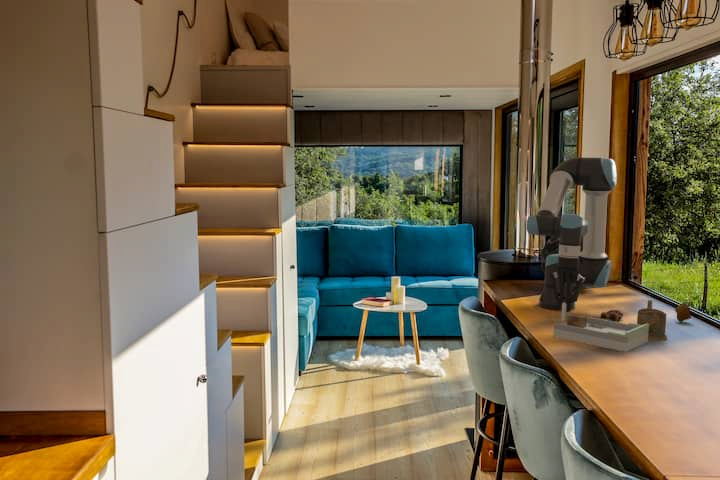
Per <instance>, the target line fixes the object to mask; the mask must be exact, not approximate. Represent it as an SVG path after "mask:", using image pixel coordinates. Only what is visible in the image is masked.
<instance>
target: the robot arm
mask: <svg viewBox="0 0 720 480" xmlns="http://www.w3.org/2000/svg"><path fill="white" fill-rule="evenodd" d="M617 177H618V173H617V165H616V162H615V161H614V159H612V158H607V157H580V156H575V157H571V158H568V159H566V160H564V161H563V162H561V163H560V164H558V165H557V167H555V168H554V169H553V170H552V172H551V174H550V177H549V186H548V187H547V190H546V192H545V194H544V197H543V199H542V202H541V203H540V206H539V209H538V210H537V213H536V214H532V215H531V214H530V215H529V216H528V217H527V219H526V231H527V233H528V234H529V235H534V236H542V237H543V236H544V237H552V236H556V237H560V240H559V254H552V255H549V256H547V258H546V264H545V274H544V282H543V289H542V291H541V294H540V296H539V299H538V306H539V307H541V308H544V309H549V310H557V311H559V312H561V314H560V315H561V316H560V321H561V322H562V321H563V322H567V321H568V315H570V313H571V311H572V310H574V309H575V308H576V302H578V299H579V296H580V292H581V290H582V289H581V287H582V286H587V287H591V288H604V287H606V285H607V284H608V281H609V278H610V274H611V269H612V261H611V260H609V259H608V257H609V256H608V254H607V253H606V252H605V244H606V243H605V241H606V226H607V211H608V210H607V209H608V196H609V194H610V193H612V191H613V188H615V187H616V186H617V181H618V179H617ZM573 186H582V188H581V189H582V192H583V193H585V203H584V204H585V206H584V218H583V215H582V214H578V213H563V214H561V216H558V215H559V213H560V210H561V208H562V206H563V203H564V201H565V198H566V196H567V194H568V191H569V190H570V189H571V188H572V187H573ZM583 236H584V237H583ZM582 237H583V251H582V252H581V253H580V245H581V238H582ZM578 257H579V258H578ZM573 285H576V286H575V290H573Z"/></svg>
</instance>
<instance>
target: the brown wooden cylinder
mask: <svg viewBox="0 0 720 480" xmlns="http://www.w3.org/2000/svg"><path fill="white" fill-rule="evenodd" d="M646 323H648V324H649V331H648V341H652V342H655V341H656V342H663V341H667V340H668V336H667V335H666V325H667V324H666V323H667V313H665V312H664V311H662V310H660V309H656V308H653V300H652V299H648V300H647V308H641V309H639V310H638V311H637V318H636V324H639V325H644V324H646Z"/></svg>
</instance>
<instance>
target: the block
mask: <svg viewBox="0 0 720 480" xmlns="http://www.w3.org/2000/svg"><path fill="white" fill-rule="evenodd" d="M587 317H588V316H587V315H585V314H584V315H583V314H579V313H572V314H569V315H568V320H567V321H566V322H567V323H566V324H567V325H569V326H574V327H579V328H584V327H586V323H587Z"/></svg>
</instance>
